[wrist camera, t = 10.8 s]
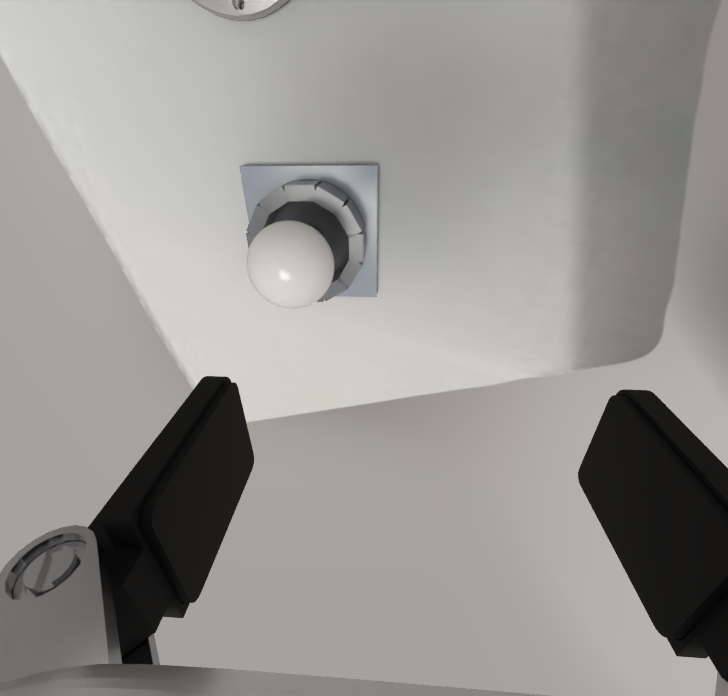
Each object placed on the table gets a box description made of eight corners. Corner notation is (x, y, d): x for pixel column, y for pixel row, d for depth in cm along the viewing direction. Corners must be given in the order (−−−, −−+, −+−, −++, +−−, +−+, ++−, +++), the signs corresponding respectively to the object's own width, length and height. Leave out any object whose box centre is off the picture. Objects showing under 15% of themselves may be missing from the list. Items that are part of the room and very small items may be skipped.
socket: (243, 165, 33) (222, 170, 28) (377, 164, 32) (375, 169, 28) (264, 291, 39) (248, 310, 35) (376, 293, 38) (375, 313, 34)
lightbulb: (284, 271, 36) (244, 324, 26) (272, 202, 32) (222, 234, 23) (348, 270, 35) (331, 322, 26) (343, 199, 32) (321, 231, 22)
